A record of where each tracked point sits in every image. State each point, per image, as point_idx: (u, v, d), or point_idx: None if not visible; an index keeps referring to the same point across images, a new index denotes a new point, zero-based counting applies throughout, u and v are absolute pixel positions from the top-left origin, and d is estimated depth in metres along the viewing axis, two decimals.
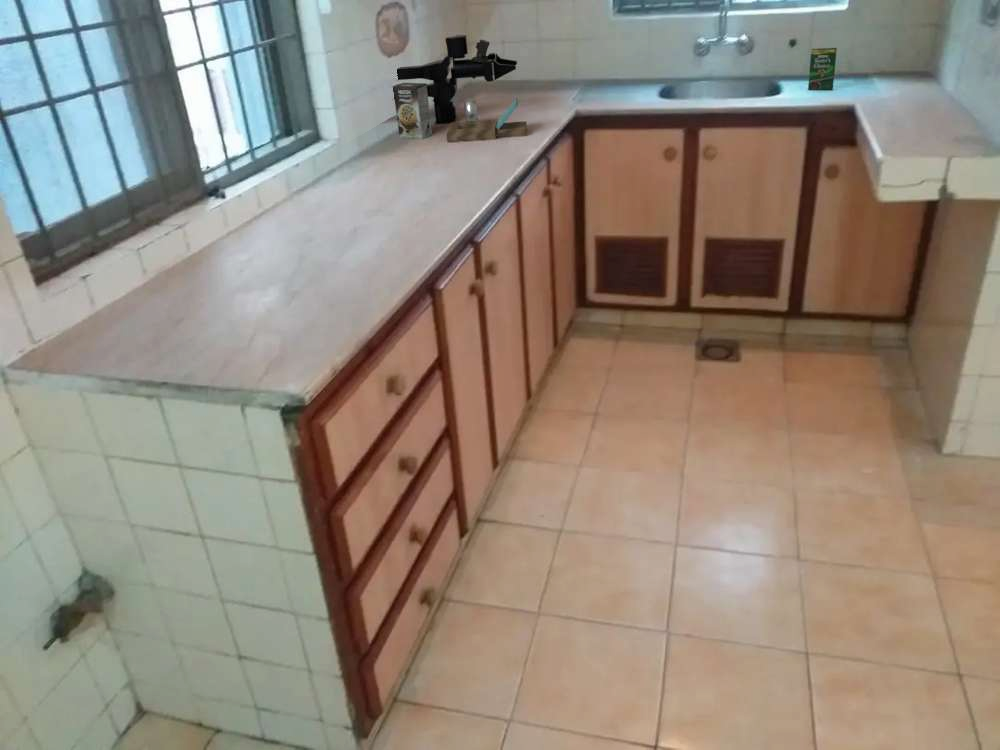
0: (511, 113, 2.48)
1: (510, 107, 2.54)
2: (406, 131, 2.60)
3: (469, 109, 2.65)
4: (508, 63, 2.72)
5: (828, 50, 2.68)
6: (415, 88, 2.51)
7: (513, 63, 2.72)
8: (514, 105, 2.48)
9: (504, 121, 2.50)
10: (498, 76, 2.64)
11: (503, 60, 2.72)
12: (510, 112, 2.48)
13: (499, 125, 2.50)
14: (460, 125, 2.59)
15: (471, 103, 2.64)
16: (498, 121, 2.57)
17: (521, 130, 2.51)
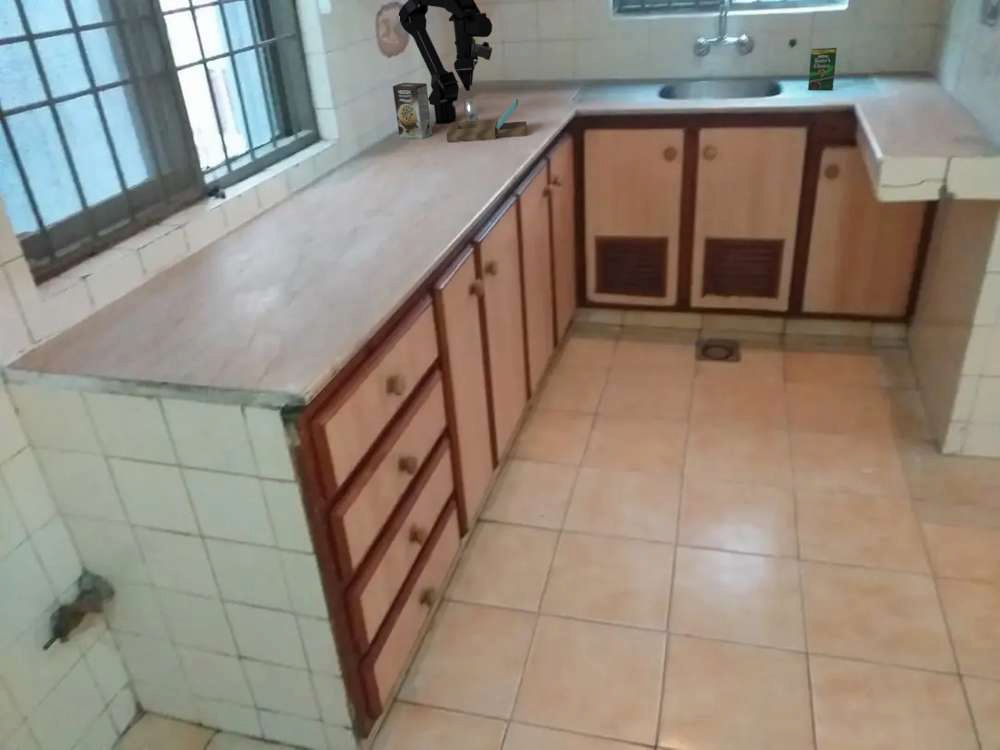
0: (511, 113, 2.48)
1: (510, 107, 2.54)
2: (406, 131, 2.60)
3: (469, 109, 2.65)
4: None
5: (828, 50, 2.68)
6: (415, 88, 2.51)
7: (469, 82, 2.67)
8: (514, 105, 2.48)
9: (504, 121, 2.50)
10: (458, 73, 2.55)
11: (472, 70, 2.65)
12: (510, 112, 2.48)
13: (499, 125, 2.50)
14: (460, 125, 2.59)
15: (471, 103, 2.64)
16: (498, 121, 2.57)
17: (521, 130, 2.51)
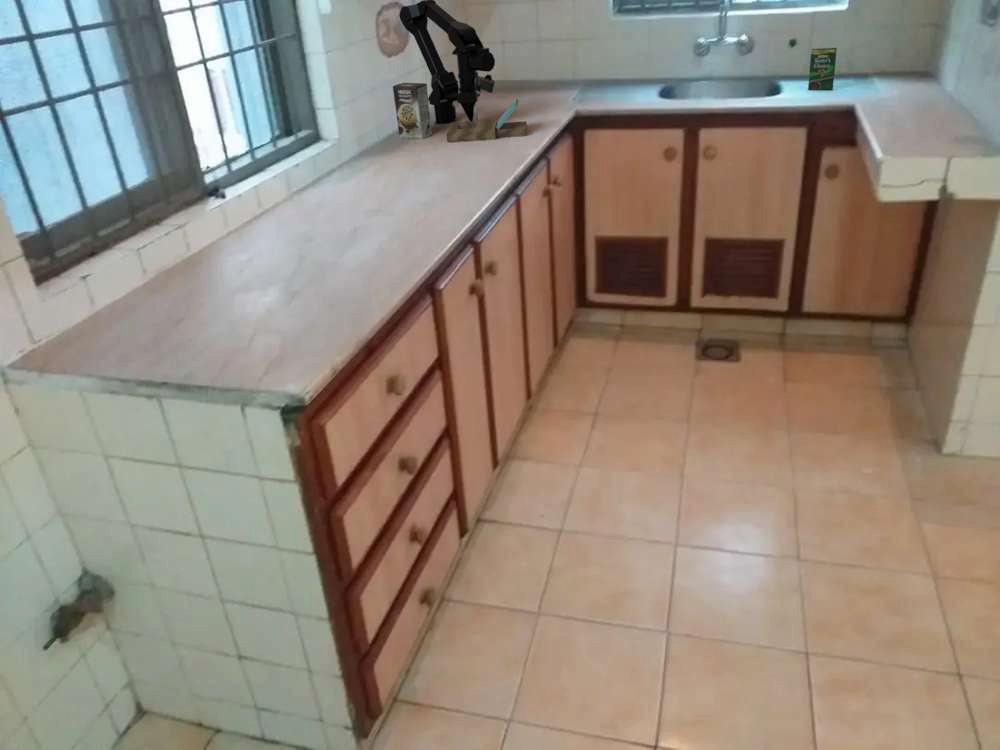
0: (511, 113, 2.48)
1: (510, 107, 2.54)
2: (406, 131, 2.60)
3: None
4: None
5: (828, 50, 2.68)
6: (415, 88, 2.51)
7: None
8: (514, 105, 2.48)
9: (504, 121, 2.50)
10: (462, 104, 2.62)
11: None
12: (510, 112, 2.48)
13: (499, 125, 2.50)
14: (460, 125, 2.59)
15: None
16: (498, 121, 2.57)
17: (521, 130, 2.51)
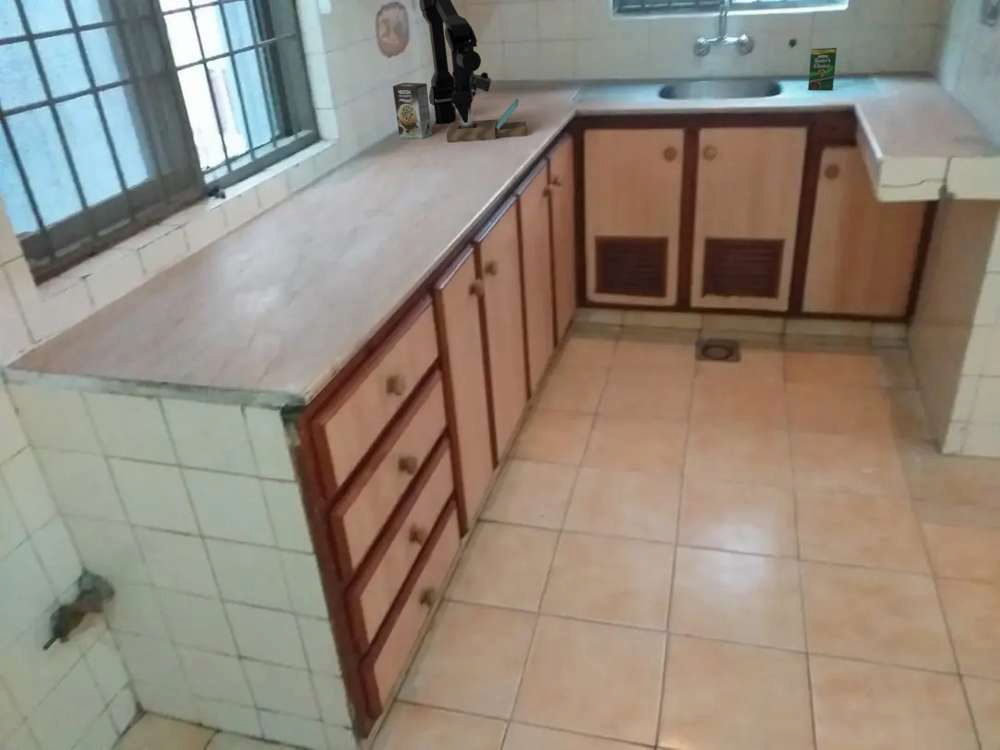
0: (511, 113, 2.48)
1: (510, 107, 2.54)
2: (406, 131, 2.60)
3: None
4: None
5: (828, 50, 2.68)
6: (415, 88, 2.51)
7: None
8: (514, 105, 2.48)
9: (504, 121, 2.50)
10: (456, 105, 2.47)
11: None
12: (510, 112, 2.48)
13: (499, 125, 2.50)
14: (460, 125, 2.59)
15: None
16: (498, 121, 2.57)
17: (521, 130, 2.51)
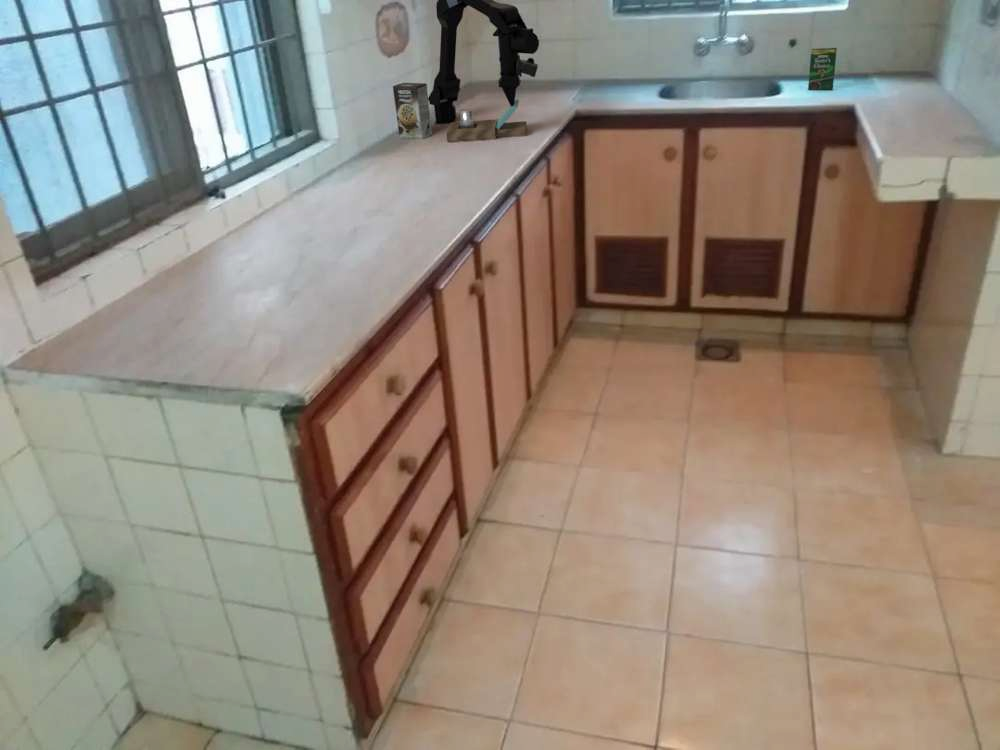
0: (511, 113, 2.48)
1: (510, 107, 2.54)
2: (406, 131, 2.60)
3: (466, 119, 2.53)
4: None
5: (828, 50, 2.68)
6: (415, 88, 2.51)
7: None
8: (514, 105, 2.48)
9: (504, 121, 2.50)
10: (503, 88, 2.47)
11: None
12: (510, 112, 2.48)
13: (499, 125, 2.50)
14: (460, 125, 2.59)
15: (467, 112, 2.52)
16: (498, 121, 2.57)
17: (521, 130, 2.51)
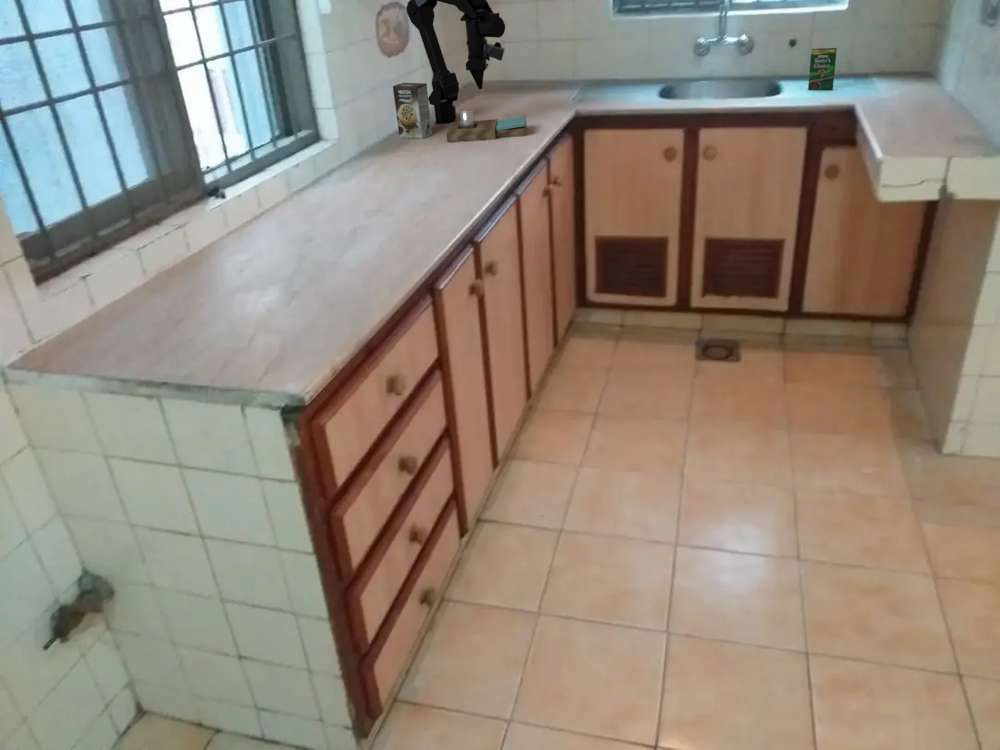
0: None
1: (517, 119, 2.56)
2: (406, 131, 2.60)
3: (466, 119, 2.53)
4: None
5: (828, 50, 2.68)
6: (415, 88, 2.51)
7: None
8: (523, 122, 2.51)
9: (506, 128, 2.51)
10: (471, 71, 2.56)
11: None
12: (516, 125, 2.50)
13: (500, 128, 2.51)
14: (460, 125, 2.59)
15: (467, 112, 2.52)
16: (499, 122, 2.57)
17: (521, 130, 2.51)
